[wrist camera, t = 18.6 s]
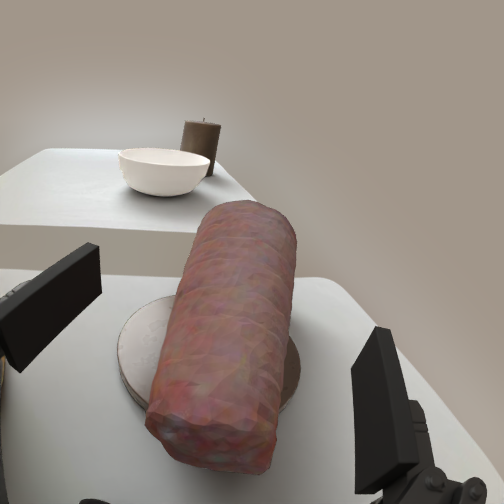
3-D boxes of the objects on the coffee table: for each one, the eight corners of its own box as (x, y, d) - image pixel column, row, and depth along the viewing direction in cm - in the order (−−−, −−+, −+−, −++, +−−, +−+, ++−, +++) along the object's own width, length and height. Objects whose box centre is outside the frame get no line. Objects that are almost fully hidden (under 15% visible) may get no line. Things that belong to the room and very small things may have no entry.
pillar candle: (214, 178, 74) (225, 121, 67) (176, 174, 71) (186, 116, 64) (210, 170, 82) (219, 119, 76) (176, 166, 79) (185, 114, 73)
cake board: (288, 317, 28) (292, 307, 28) (304, 444, 16) (311, 436, 15) (148, 290, 27) (148, 280, 27) (91, 406, 15) (88, 396, 14)
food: (193, 271, 30) (205, 188, 26) (282, 287, 31) (305, 208, 27) (136, 470, 11) (108, 370, 7) (311, 488, 12) (401, 402, 8)
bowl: (222, 197, 60) (229, 163, 57) (154, 213, 45) (158, 169, 42) (163, 175, 67) (167, 146, 64) (99, 185, 52) (101, 150, 49)
